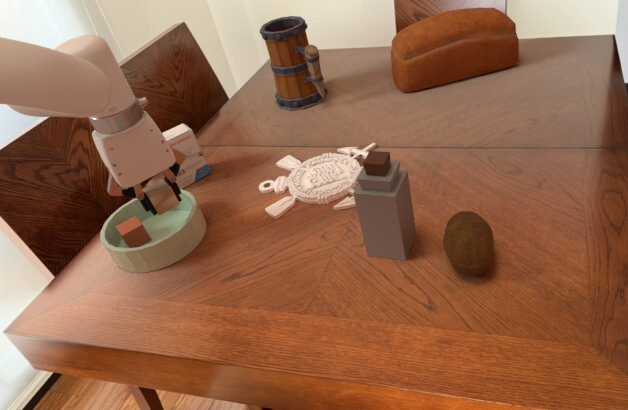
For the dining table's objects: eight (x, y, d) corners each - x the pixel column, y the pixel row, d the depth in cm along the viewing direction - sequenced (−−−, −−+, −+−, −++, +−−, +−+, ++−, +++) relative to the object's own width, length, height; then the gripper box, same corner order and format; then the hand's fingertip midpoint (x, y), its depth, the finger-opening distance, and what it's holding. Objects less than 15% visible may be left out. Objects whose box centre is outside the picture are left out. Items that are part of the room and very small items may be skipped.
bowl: (133, 288, 87) (118, 266, 84) (102, 243, 99) (88, 222, 95) (222, 234, 95) (212, 212, 92) (184, 198, 106) (174, 177, 103)
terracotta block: (131, 251, 94) (121, 235, 92) (124, 241, 97) (114, 226, 94) (151, 239, 96) (142, 224, 94) (144, 230, 99) (135, 215, 96)
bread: (389, 75, 138) (381, 19, 128) (500, 48, 141) (501, -9, 132) (402, 96, 127) (394, 36, 118) (523, 66, 131) (525, 5, 121)
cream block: (159, 215, 89) (149, 198, 86) (151, 206, 91) (141, 189, 89) (180, 204, 91) (171, 186, 88) (171, 195, 93) (162, 178, 91)
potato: (454, 290, 76) (451, 254, 71) (436, 237, 86) (432, 202, 81) (506, 279, 76) (506, 243, 71) (482, 227, 86) (481, 192, 81)
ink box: (203, 165, 116) (183, 121, 108) (212, 173, 112) (192, 128, 105) (168, 183, 112) (145, 138, 105) (176, 192, 109) (153, 146, 101)
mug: (350, 97, 131) (334, 21, 119) (306, 121, 125) (284, 43, 112) (308, 80, 144) (289, 10, 131) (265, 101, 137) (242, 29, 125)
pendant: (394, 203, 95) (393, 197, 94) (250, 222, 97) (248, 216, 96) (390, 143, 111) (389, 137, 110) (267, 160, 113) (265, 155, 112)
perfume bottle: (367, 255, 85) (347, 169, 74) (379, 228, 90) (362, 144, 78) (405, 260, 83) (391, 172, 71) (416, 233, 87) (404, 146, 76)
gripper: (157, 89, 85) (198, 175, 97) (57, 133, 78) (113, 220, 90) (175, 101, 81) (215, 190, 92) (69, 148, 73) (127, 239, 85)
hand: (164, 204), depth 91 cm, fingers closed on cream block, 4 cm apart
